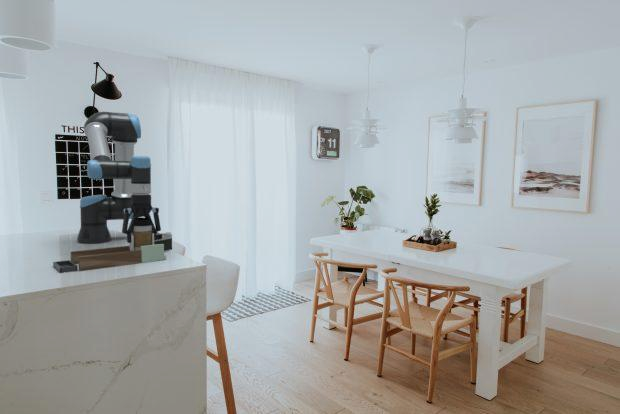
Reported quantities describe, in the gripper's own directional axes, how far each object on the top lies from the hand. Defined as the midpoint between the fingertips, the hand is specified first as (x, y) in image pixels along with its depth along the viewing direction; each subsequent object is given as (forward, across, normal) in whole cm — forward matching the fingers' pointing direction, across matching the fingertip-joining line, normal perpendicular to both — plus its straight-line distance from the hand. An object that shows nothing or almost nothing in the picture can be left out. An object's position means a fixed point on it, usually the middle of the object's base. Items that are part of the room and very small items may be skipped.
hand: (142, 249), depth 168 cm
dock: (+4, +2, 0) cm, 4 cm away
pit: (+4, -28, 0) cm, 28 cm away
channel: (+4, -14, 0) cm, 14 cm away
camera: (+4, +10, +12) cm, 17 cm away
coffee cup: (+2, 0, 0) cm, 2 cm away
